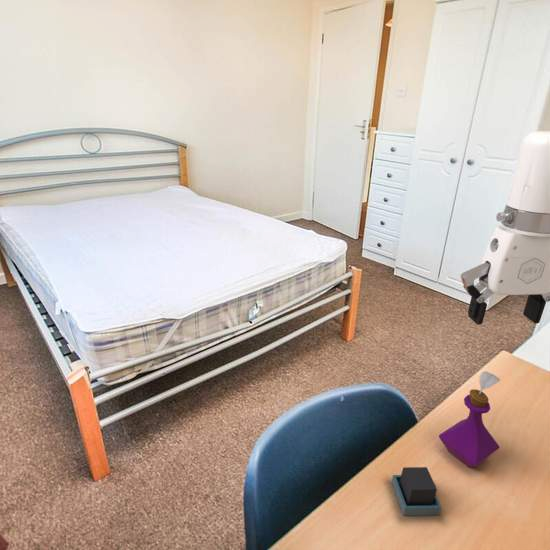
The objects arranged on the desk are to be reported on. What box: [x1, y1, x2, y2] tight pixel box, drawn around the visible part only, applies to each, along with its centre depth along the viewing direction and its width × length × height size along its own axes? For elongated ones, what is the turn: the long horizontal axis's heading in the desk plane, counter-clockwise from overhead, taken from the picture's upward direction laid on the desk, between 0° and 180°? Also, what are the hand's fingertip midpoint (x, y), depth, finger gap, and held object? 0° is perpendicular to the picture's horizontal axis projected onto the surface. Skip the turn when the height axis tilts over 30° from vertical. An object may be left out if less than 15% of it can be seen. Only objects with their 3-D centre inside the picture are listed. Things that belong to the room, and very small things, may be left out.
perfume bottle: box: [438, 370, 501, 468], centre depth 67 cm, size 8×8×18 cm
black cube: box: [399, 466, 438, 506], centre depth 61 cm, size 4×4×4 cm
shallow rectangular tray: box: [391, 474, 442, 517], centre depth 62 cm, size 6×6×2 cm
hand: (502, 319), depth 63 cm, fingers open, 9 cm apart
